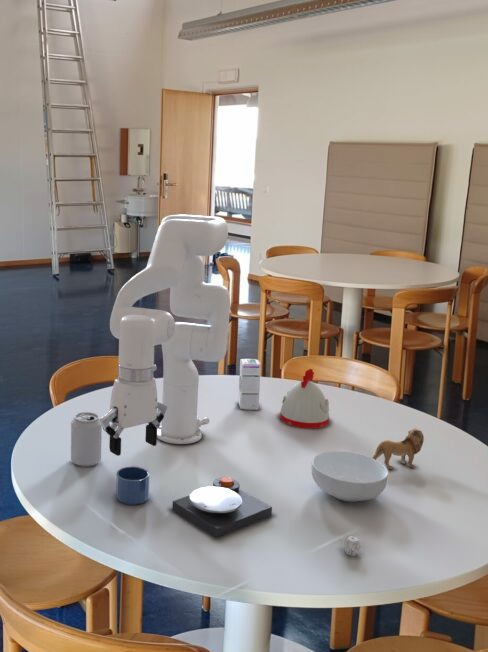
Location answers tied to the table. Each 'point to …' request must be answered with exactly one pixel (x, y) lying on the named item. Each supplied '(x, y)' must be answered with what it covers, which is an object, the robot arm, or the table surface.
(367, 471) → the cereal bowl
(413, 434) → the lion figurine
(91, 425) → the can
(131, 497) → the blue cup
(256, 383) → the syrup box
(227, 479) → the button
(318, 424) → the kitchen timer
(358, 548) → the game die
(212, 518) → the scale
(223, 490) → the pan
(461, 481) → the table surface
